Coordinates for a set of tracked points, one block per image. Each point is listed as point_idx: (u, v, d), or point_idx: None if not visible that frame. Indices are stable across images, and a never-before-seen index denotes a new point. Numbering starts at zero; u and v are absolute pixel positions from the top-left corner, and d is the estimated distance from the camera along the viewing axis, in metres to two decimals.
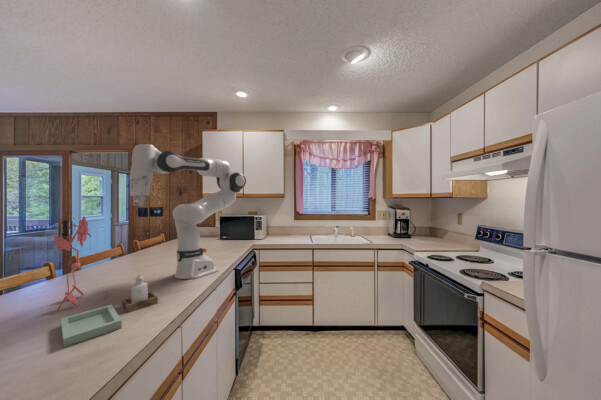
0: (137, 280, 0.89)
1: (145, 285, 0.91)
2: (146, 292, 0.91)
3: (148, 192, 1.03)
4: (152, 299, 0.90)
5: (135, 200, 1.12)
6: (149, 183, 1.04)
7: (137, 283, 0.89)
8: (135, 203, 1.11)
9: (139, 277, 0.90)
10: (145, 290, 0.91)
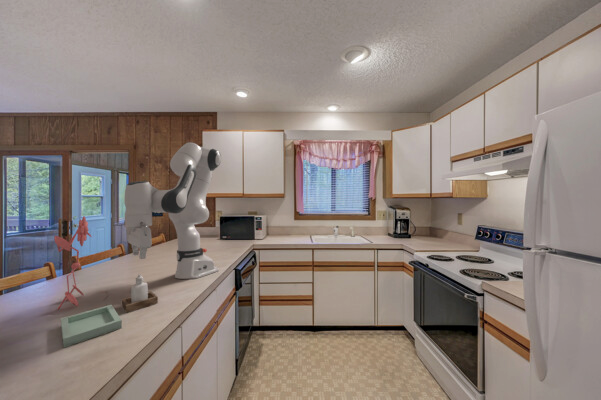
0: (137, 280, 0.89)
1: (145, 285, 0.91)
2: (146, 292, 0.91)
3: (149, 244, 0.84)
4: (152, 299, 0.90)
5: (134, 248, 0.93)
6: (149, 232, 0.85)
7: (137, 283, 0.89)
8: (135, 253, 0.93)
9: (139, 277, 0.90)
10: (145, 290, 0.91)
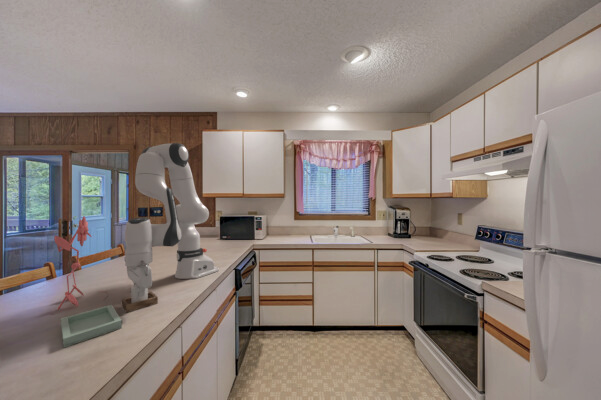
0: None
1: None
2: (146, 292, 0.91)
3: (150, 283, 0.84)
4: (152, 299, 0.90)
5: None
6: (150, 272, 0.85)
7: None
8: None
9: None
10: (145, 290, 0.91)
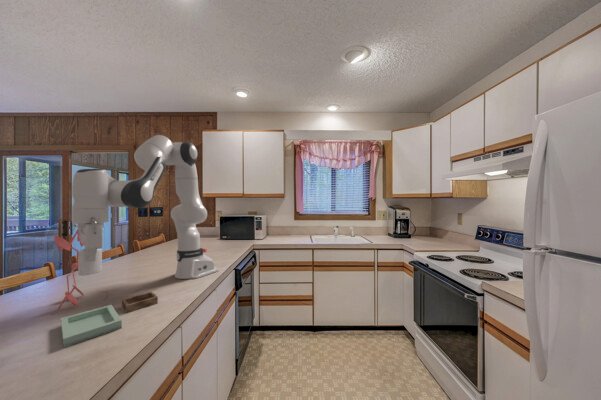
0: None
1: (98, 250, 0.75)
2: (99, 259, 0.76)
3: (99, 244, 0.69)
4: (152, 299, 0.90)
5: None
6: (100, 230, 0.69)
7: None
8: None
9: None
10: (97, 256, 0.75)
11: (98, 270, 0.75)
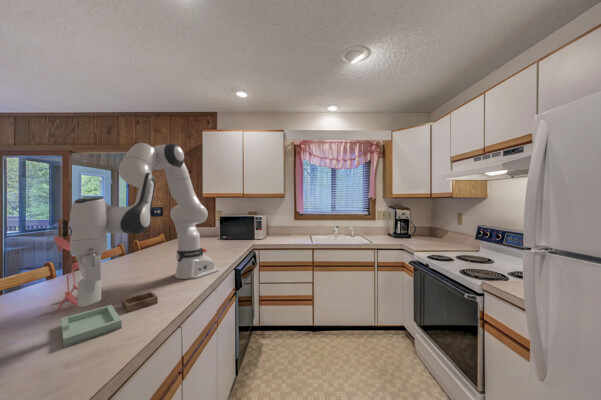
0: None
1: None
2: (98, 288, 0.75)
3: (98, 276, 0.68)
4: (152, 299, 0.90)
5: None
6: (98, 262, 0.69)
7: None
8: None
9: None
10: (96, 286, 0.75)
11: (97, 299, 0.75)
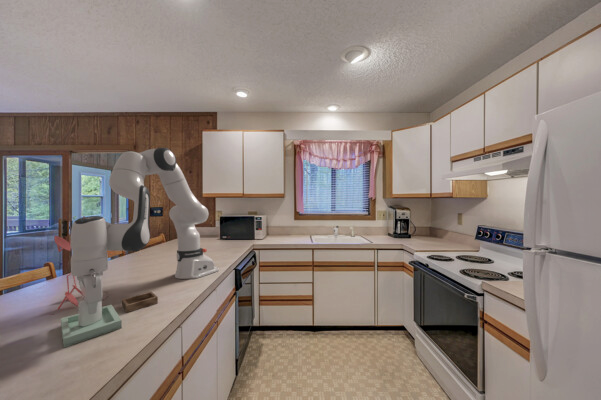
0: None
1: None
2: (98, 308, 0.76)
3: (99, 297, 0.68)
4: (152, 299, 0.90)
5: None
6: (99, 283, 0.69)
7: None
8: None
9: None
10: (97, 305, 0.76)
11: (98, 319, 0.76)
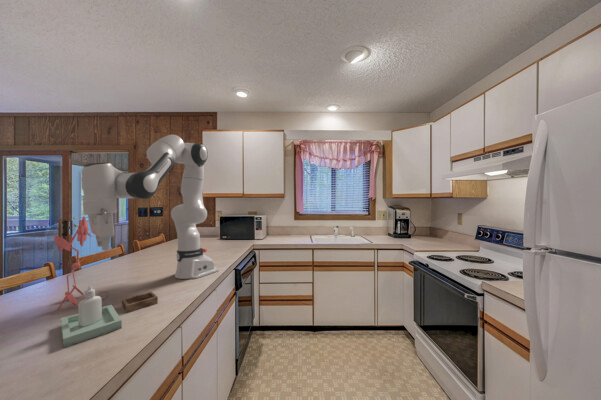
0: (86, 294, 0.74)
1: (97, 300, 0.76)
2: (98, 308, 0.76)
3: (111, 232, 0.74)
4: (152, 299, 0.90)
5: (99, 239, 0.83)
6: (111, 220, 0.74)
7: (86, 297, 0.74)
8: (99, 244, 0.82)
9: (89, 290, 0.75)
10: (97, 306, 0.76)
11: (98, 319, 0.76)
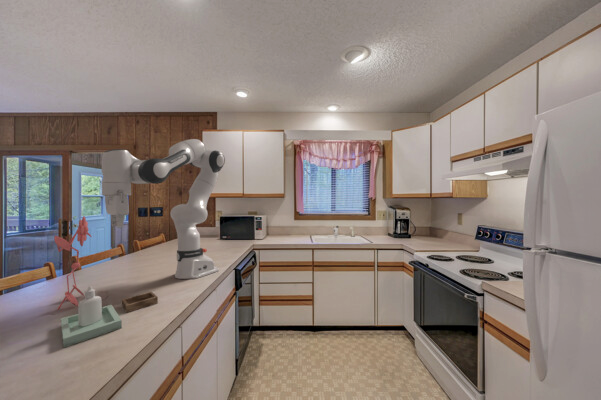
0: (86, 294, 0.74)
1: (97, 300, 0.76)
2: (98, 308, 0.76)
3: (126, 211, 0.82)
4: (152, 299, 0.90)
5: (113, 219, 0.92)
6: (126, 199, 0.83)
7: (86, 297, 0.74)
8: (114, 223, 0.91)
9: (89, 290, 0.75)
10: (97, 306, 0.76)
11: (98, 319, 0.76)
